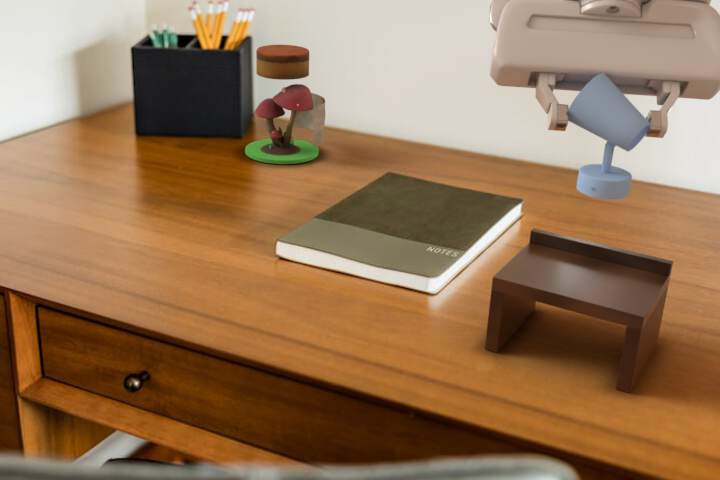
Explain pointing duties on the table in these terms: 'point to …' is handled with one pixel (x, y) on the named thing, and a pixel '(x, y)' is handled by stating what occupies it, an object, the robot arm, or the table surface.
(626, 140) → the spotlight
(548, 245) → the shelf
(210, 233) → the table surface
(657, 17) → the robot arm
